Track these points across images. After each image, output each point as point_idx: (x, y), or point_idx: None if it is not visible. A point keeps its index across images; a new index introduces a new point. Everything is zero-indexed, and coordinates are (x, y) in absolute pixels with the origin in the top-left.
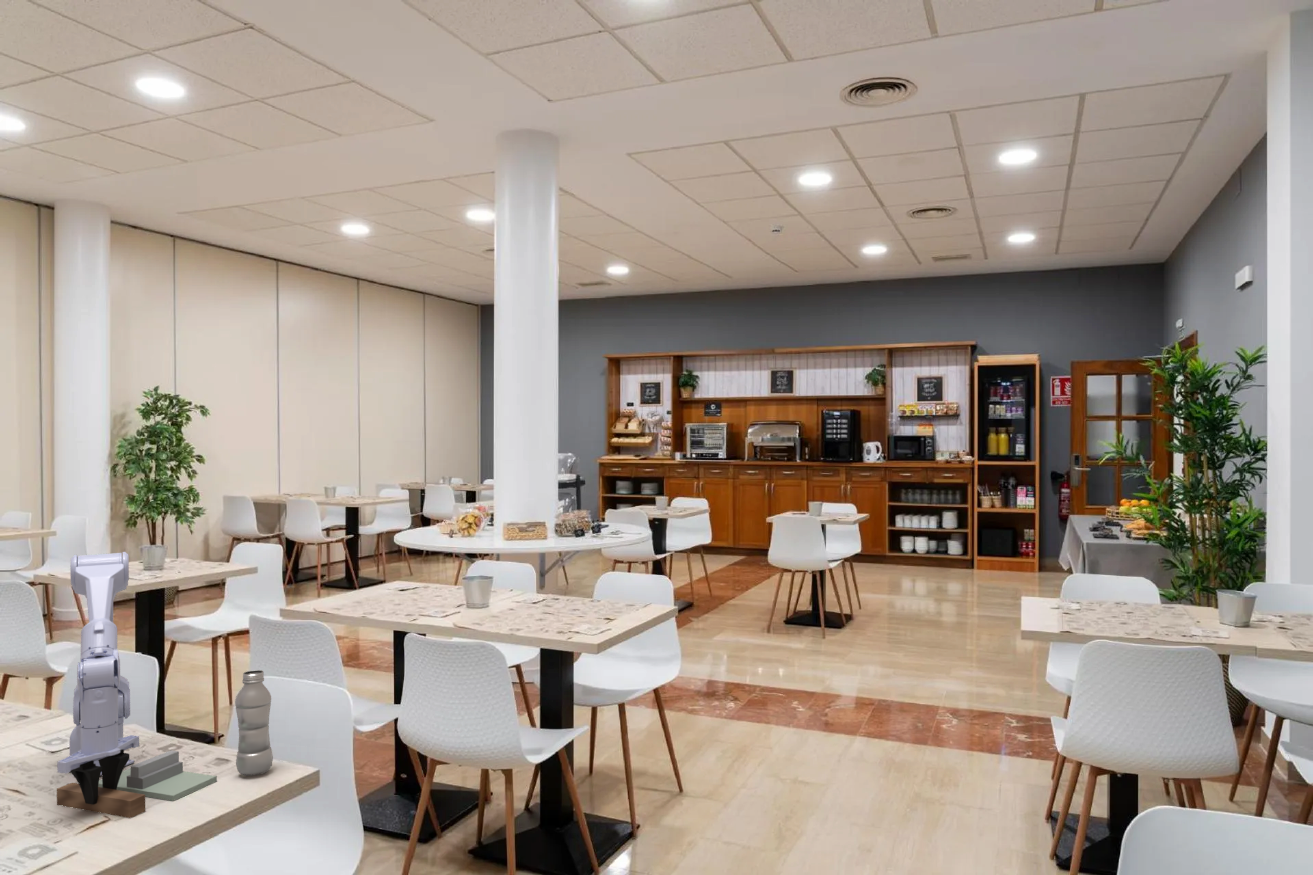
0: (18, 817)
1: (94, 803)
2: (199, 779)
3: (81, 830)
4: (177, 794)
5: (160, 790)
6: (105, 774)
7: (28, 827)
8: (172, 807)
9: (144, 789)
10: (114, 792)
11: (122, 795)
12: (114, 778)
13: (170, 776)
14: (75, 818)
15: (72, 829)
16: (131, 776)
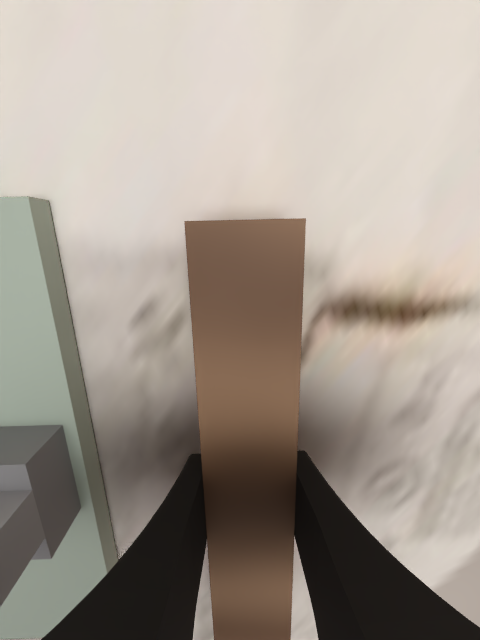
0: None
1: (303, 451)
2: None
3: (451, 317)
4: (1, 198)
5: (23, 334)
6: (190, 613)
7: (457, 517)
8: (104, 122)
9: (59, 415)
10: (232, 434)
11: (251, 352)
12: (186, 531)
13: None
14: (354, 444)
15: (447, 362)
16: (42, 534)
